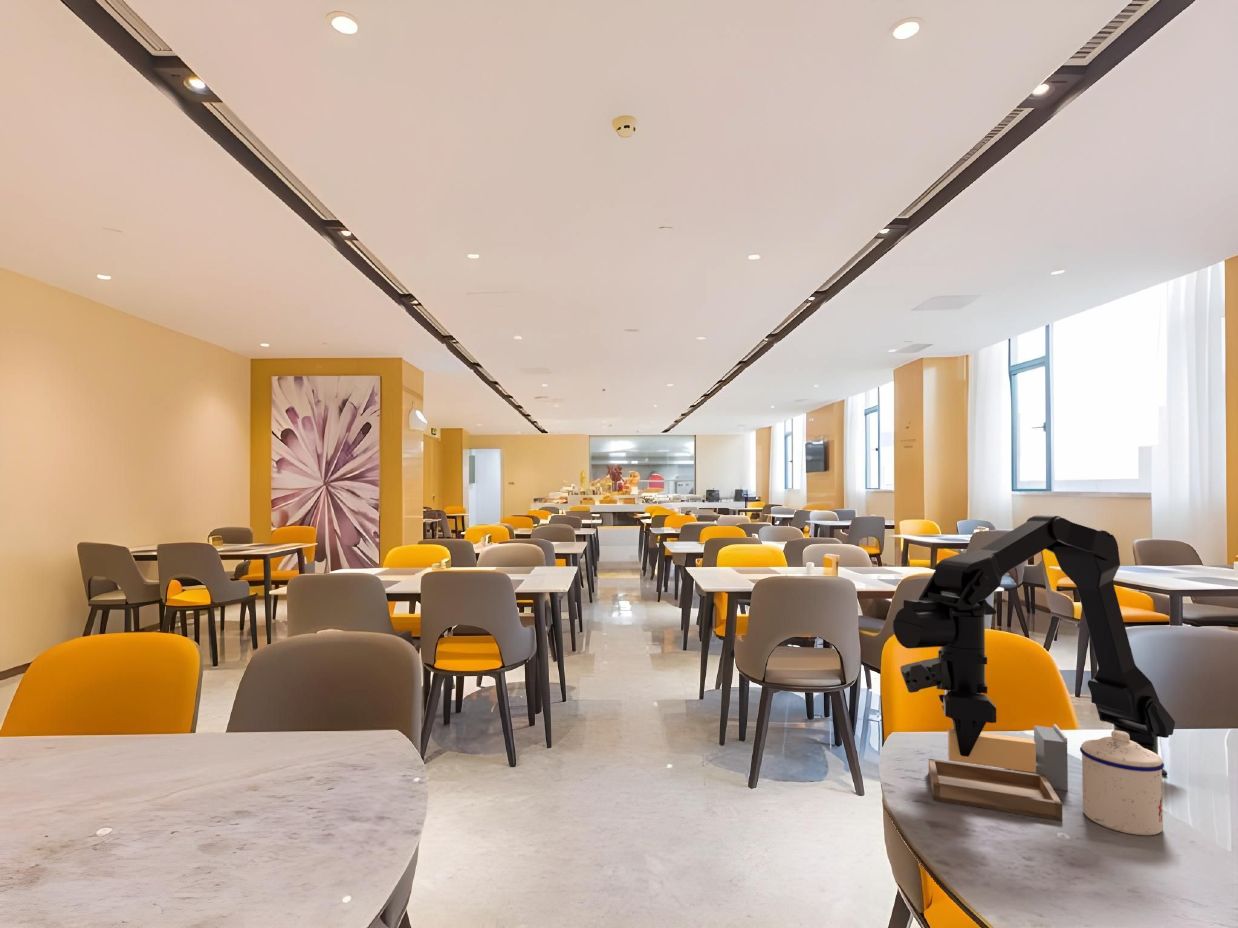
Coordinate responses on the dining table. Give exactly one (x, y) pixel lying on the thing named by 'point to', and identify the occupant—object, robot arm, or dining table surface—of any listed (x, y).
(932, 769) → the tray
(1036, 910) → the dining table surface
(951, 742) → the tan elongated block
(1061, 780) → the grey slotted holder
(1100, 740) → the teacup with lid
